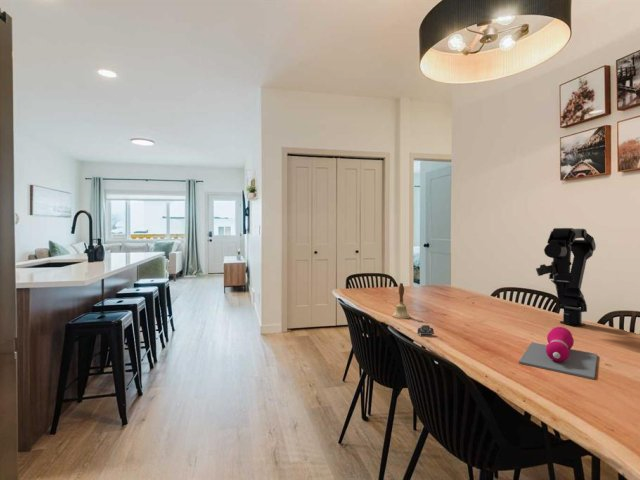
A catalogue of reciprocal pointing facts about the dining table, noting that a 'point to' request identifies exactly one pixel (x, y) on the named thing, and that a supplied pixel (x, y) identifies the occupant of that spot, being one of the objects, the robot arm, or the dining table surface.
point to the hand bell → (401, 305)
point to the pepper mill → (559, 344)
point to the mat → (574, 365)
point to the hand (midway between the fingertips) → (559, 298)
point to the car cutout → (425, 330)
